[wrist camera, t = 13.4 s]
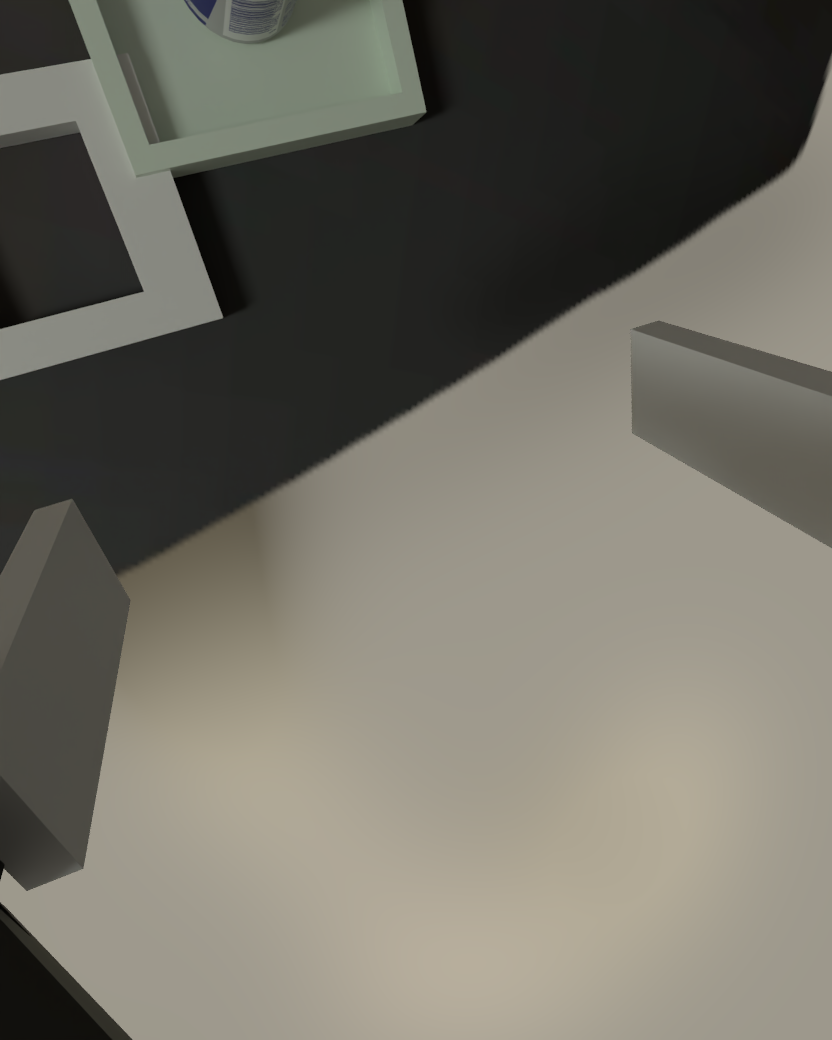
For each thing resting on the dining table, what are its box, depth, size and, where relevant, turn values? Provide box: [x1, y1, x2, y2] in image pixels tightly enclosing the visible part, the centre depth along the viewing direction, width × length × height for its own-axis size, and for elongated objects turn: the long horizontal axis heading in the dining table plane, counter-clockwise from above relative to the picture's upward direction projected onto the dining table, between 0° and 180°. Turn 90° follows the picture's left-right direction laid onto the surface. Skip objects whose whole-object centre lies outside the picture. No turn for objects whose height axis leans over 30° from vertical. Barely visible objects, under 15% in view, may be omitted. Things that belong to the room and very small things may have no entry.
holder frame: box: [0, 53, 223, 380], centre depth 27 cm, size 13×11×2 cm
